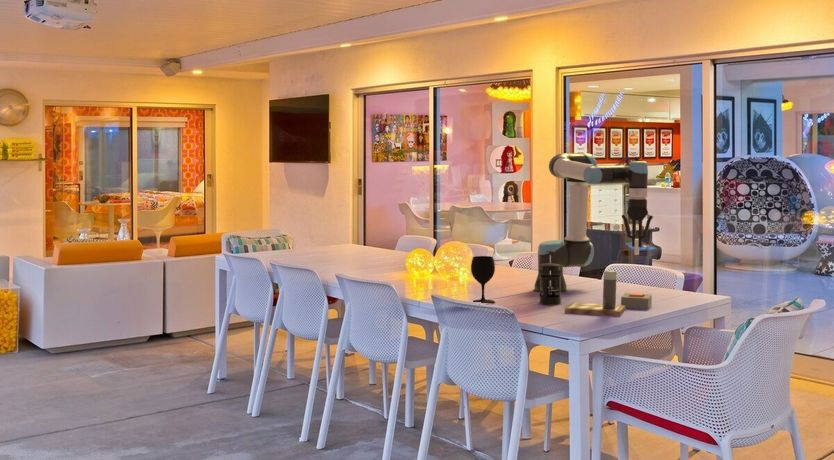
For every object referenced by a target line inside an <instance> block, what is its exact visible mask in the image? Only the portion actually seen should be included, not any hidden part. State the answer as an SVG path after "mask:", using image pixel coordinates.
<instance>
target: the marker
mask: <svg viewBox="0 0 834 460" xmlns="http://www.w3.org/2000/svg"><path fill="white" fill-rule="evenodd" d="M617 274H618V273H617V271H616V270H603V281H602V282H603V283H602V284H603V291H602V304H603V309H607V310H614V309H615V306H616V305H617V304H616V302H617Z"/></svg>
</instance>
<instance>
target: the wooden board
mask: <svg viewBox="0 0 834 460" xmlns="http://www.w3.org/2000/svg"><path fill="white" fill-rule="evenodd" d="M625 311H626V308H625V306H624V305H621V304H616V306H615V309H614V310H607V309H603V303H589V302H588V303H586V302H585V303H584V302H571V303H569V305H567V306H566V307H565V308H564V314H573V315H574V314H575V315H589V316H590V315H591V316H593V315H594V316H603V317H604V316H605V317H609V316H610V317H621V316H622V315H624V313H625Z"/></svg>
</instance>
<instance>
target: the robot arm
mask: <svg viewBox="0 0 834 460" xmlns="http://www.w3.org/2000/svg"><path fill="white" fill-rule="evenodd" d="M648 167H649V166H648V163H647V161H639V160H638V161H630V162H629V164H628V165H624V164H622V165H608V166H607V165H598V164H597V160H596V158H595V157H594V155H593V154H591V153H588V152H571V153H569V152H567V153H566V152H565V153H558V154H555V155H554V156H552V158H551V159H550V160H549V163H548V171H549V172H550V174H551V175H552V176H553V177H555V178H558V179H566V182H567V184H568V185H569V193H568V194H569V198H568V199H569V200H568V220H567V221H568V224H567V225H568V229H567V235H566V236H565V237H564V241H563V240H561V239H555V240H546V241H542V242H541V243H539V244H538V247H537V248H538V249H537V254H538V255H537V261H538V262H537V277H536V280H535V283H534V286H533V287H534V291H536V292H539V293H540V275H547V274H550V271H544V270H541V266H540V264H545V263H550V255H549V252H545V251H548V250H552V251H555V252H552V253H551V263H555V264H560V265H561V266H560V270H558V271H551V275H560V276H561V293H562V292H566V291H567V289H568V287H567V286H568V285H567V282H566V279H565V276H564V268H575V267H577V268H578V267H579V268H581V267H586V266H588V265H590V264H591V263H592V261H593V258H594V256H595V248H594V245H593V243H592V242H591V241H590V238H589V237H588V235H587V226H588V223H587V222H588V203H589V201H588V200H589V185H604V184H605V185H606V184H608V185H609V184H611V185H612V184H615V185H616V184H628V201H627V203H628V206H627V211H626V213H625V214H622V215H621V218H622V220H623V222H624V226H625V230H626V234H627V237H628V238H629V239H631V246H632V248H634V256H639V255H640V248H641V247H642V246H643V239H646V238H647V236H648V232H649V228H650V225H651V222H652V220H653V219H654V215H653V214H650V213H649V211H648V199H646V198H648V176H649V170H648ZM629 218H630V219H631V221H632V222H631V223H632V224H631V228H630V224H629V220H628V219H629ZM644 219H647V220H646V223H645V227H644V230H643V220H644ZM637 221H638V234H637ZM636 235H638V236H637V237H636ZM549 286H550V280H549ZM551 287H552V280H551ZM542 288H543V280H542ZM556 288H559V280H556ZM542 293H543V291H542ZM549 293H552V291H549ZM556 293H559V291H556Z"/></svg>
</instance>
